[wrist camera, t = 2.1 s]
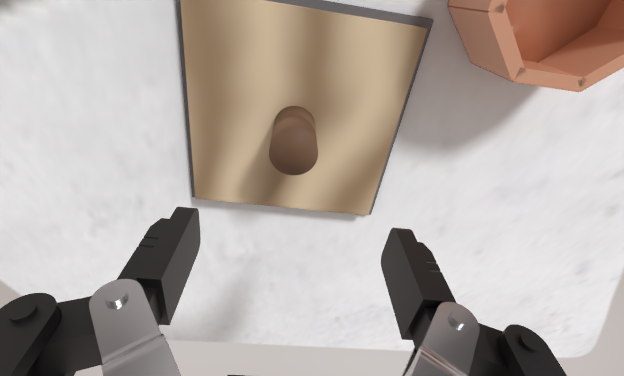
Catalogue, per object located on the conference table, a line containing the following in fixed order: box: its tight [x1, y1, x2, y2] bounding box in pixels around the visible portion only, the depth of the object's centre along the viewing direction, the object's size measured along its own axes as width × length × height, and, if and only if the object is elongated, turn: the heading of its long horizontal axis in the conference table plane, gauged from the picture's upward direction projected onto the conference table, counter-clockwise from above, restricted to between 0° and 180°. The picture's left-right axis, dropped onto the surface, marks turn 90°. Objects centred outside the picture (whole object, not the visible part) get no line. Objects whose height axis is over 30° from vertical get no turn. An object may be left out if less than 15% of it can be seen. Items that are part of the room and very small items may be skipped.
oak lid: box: [180, 0, 428, 215], centre depth 21 cm, size 15×15×5 cm
